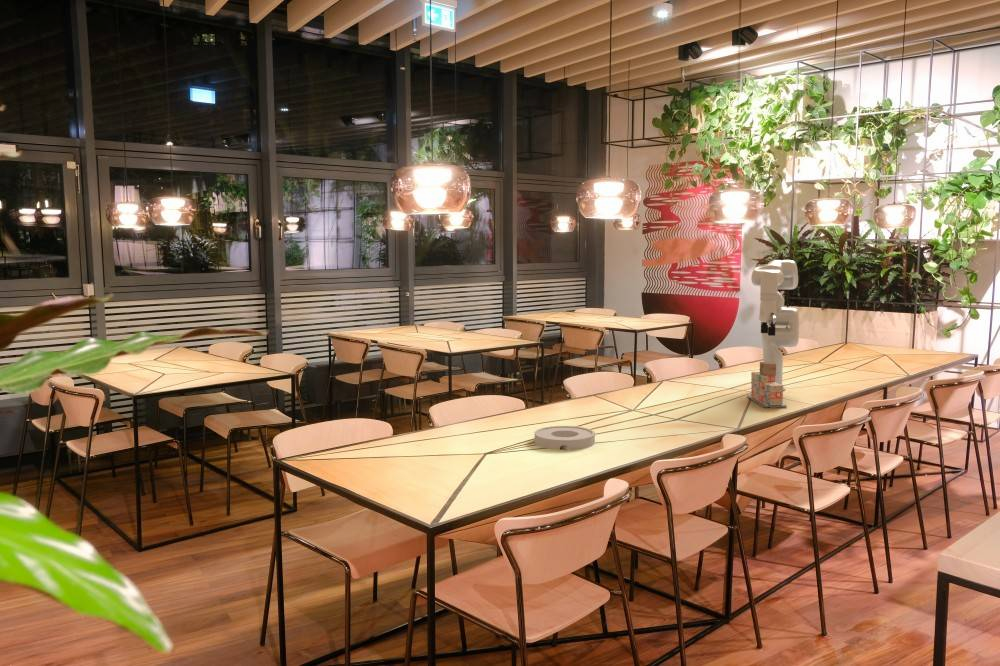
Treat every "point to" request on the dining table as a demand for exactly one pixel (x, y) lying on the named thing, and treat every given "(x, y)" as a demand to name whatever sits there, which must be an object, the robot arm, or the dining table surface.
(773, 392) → the stack of blocks
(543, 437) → the ashtray
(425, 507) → the dining table surface
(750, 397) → the blueprint board
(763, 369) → the walnut cube
